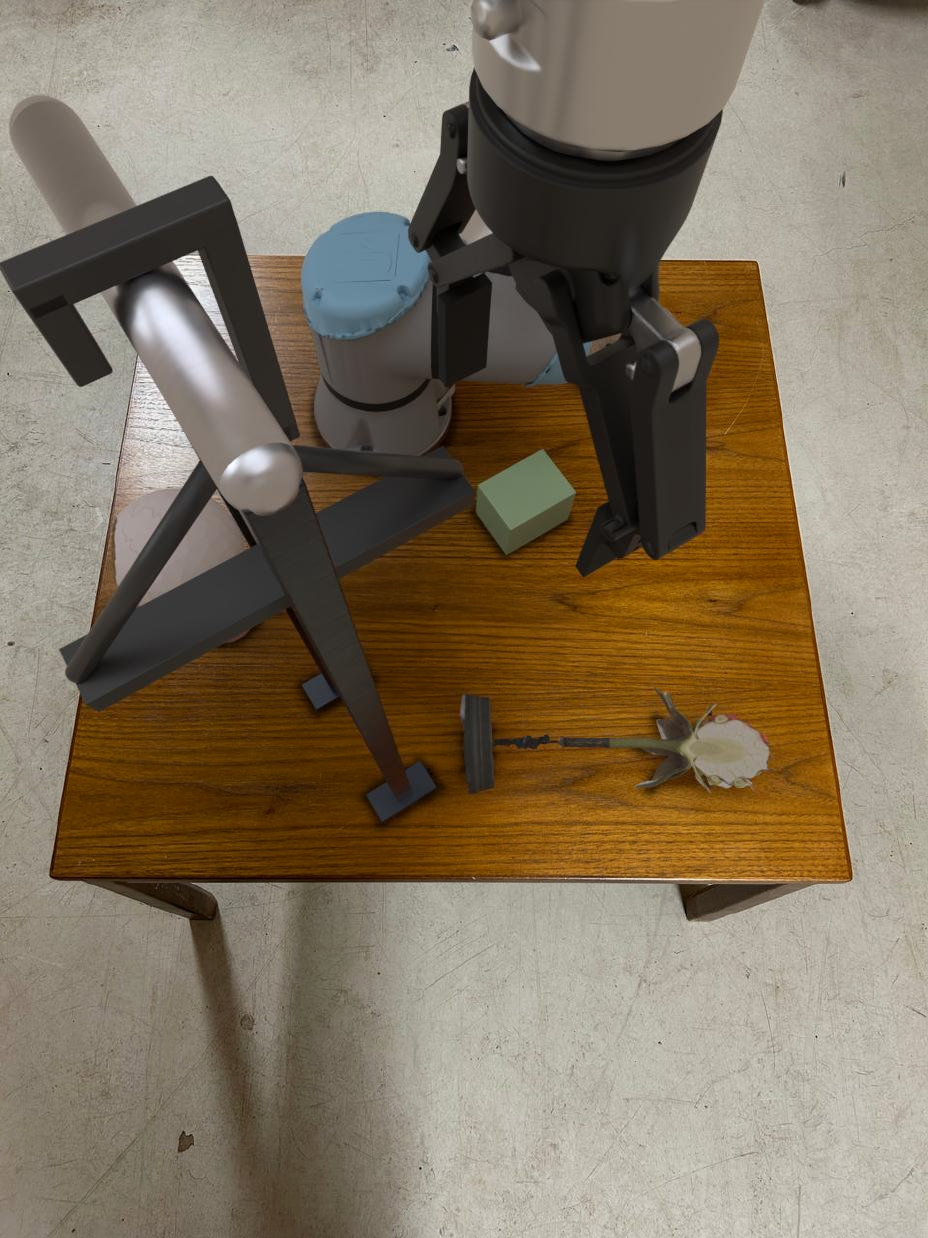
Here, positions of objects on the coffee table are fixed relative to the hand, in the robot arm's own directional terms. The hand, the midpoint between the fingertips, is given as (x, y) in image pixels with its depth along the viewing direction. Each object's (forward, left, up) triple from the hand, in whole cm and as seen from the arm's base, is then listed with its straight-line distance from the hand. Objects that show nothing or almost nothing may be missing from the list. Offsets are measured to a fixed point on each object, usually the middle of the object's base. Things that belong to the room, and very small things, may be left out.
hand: (528, 462), depth 42 cm
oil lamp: (-23, +33, -38) cm, 55 cm away
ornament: (+13, +5, -38) cm, 41 cm away
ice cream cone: (-19, -20, -38) cm, 47 cm away
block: (-12, +12, -38) cm, 42 cm away
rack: (0, -14, -38) cm, 41 cm away
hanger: (0, -15, +2) cm, 15 cm away
